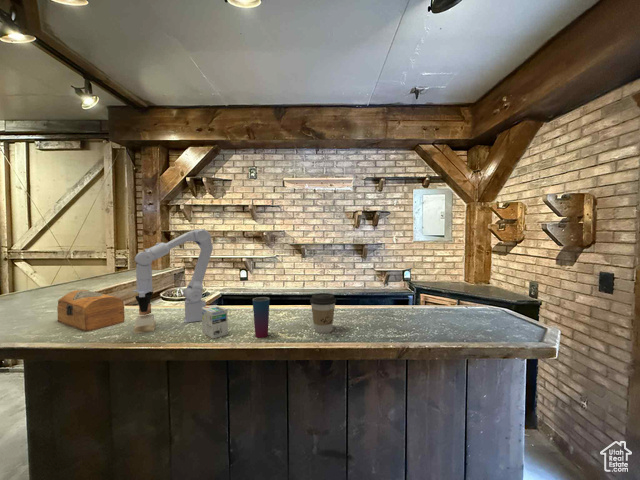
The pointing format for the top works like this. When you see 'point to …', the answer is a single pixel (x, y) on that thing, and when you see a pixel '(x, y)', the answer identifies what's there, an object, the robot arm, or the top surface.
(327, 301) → the coffee cup
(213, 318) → the light bulb box
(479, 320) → the top surface
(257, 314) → the cup
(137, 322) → the tower top
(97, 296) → the wooden box
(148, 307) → the cylinder
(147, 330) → the tower base
